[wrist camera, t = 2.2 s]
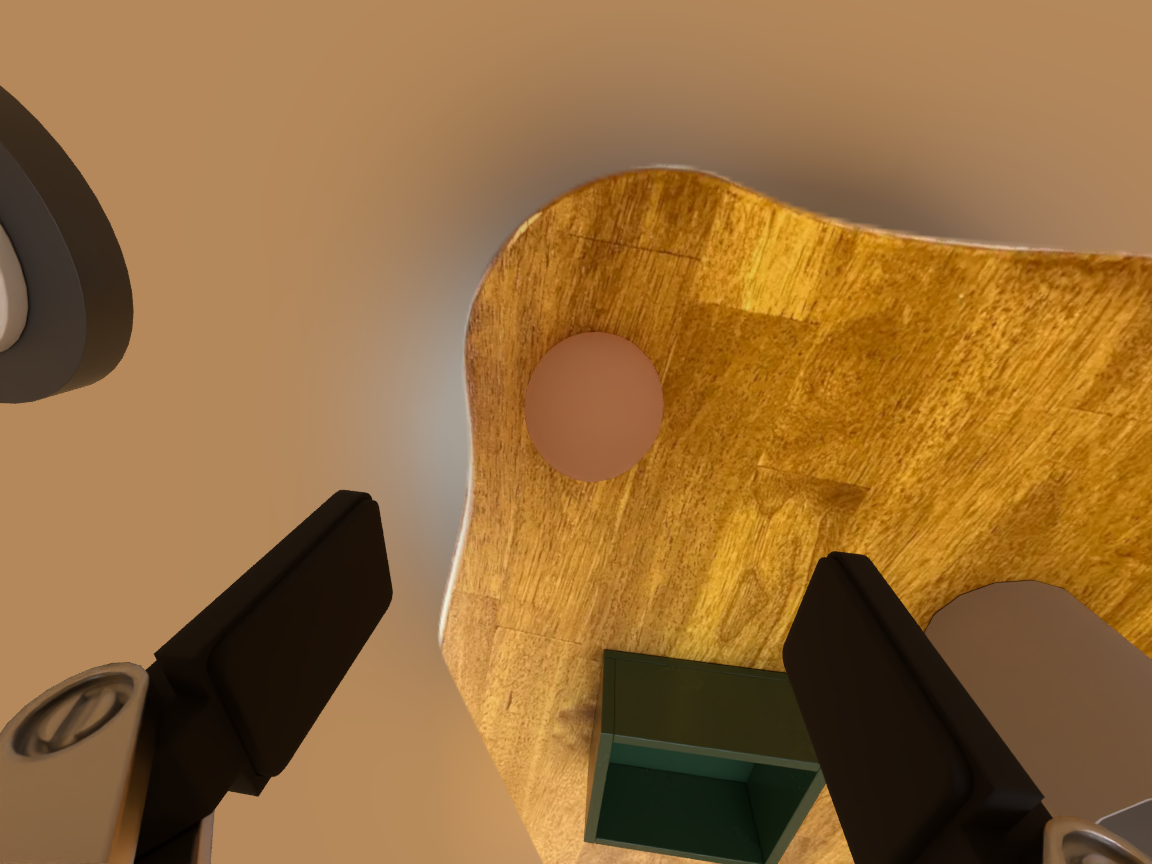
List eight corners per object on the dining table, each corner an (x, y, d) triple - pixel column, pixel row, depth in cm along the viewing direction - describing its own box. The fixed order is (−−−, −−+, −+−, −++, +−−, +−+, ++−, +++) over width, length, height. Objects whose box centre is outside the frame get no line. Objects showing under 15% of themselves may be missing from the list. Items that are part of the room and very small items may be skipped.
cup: (1117, 602, 24) (1409, 821, 15) (1017, 689, 28) (1206, 906, 19) (978, 566, 24) (1189, 765, 15) (895, 657, 28) (1027, 861, 19)
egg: (611, 291, 20) (605, 329, 12) (678, 386, 21) (709, 471, 14) (519, 363, 22) (465, 433, 14) (588, 445, 23) (572, 547, 16)
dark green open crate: (589, 756, 36) (583, 842, 31) (604, 649, 30) (600, 733, 25) (751, 780, 35) (773, 872, 30) (799, 674, 29) (836, 766, 24)
